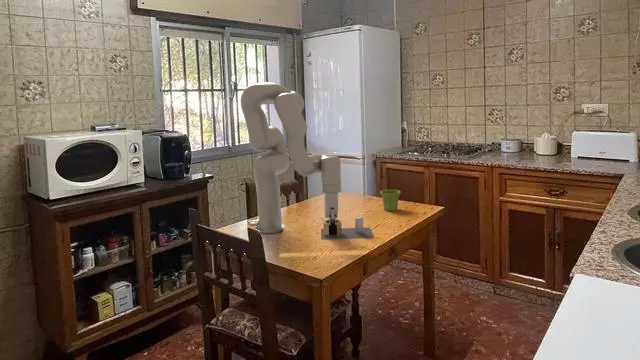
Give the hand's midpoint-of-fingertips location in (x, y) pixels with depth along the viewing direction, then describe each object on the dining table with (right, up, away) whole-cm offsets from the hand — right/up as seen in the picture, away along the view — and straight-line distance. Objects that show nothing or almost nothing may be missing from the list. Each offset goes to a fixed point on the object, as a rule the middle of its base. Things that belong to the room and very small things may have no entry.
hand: (332, 231), depth 199 cm
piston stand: (+6, -2, 0) cm, 6 cm away
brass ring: (0, -1, 0) cm, 1 cm away
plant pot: (+28, +6, +39) cm, 48 cm away
